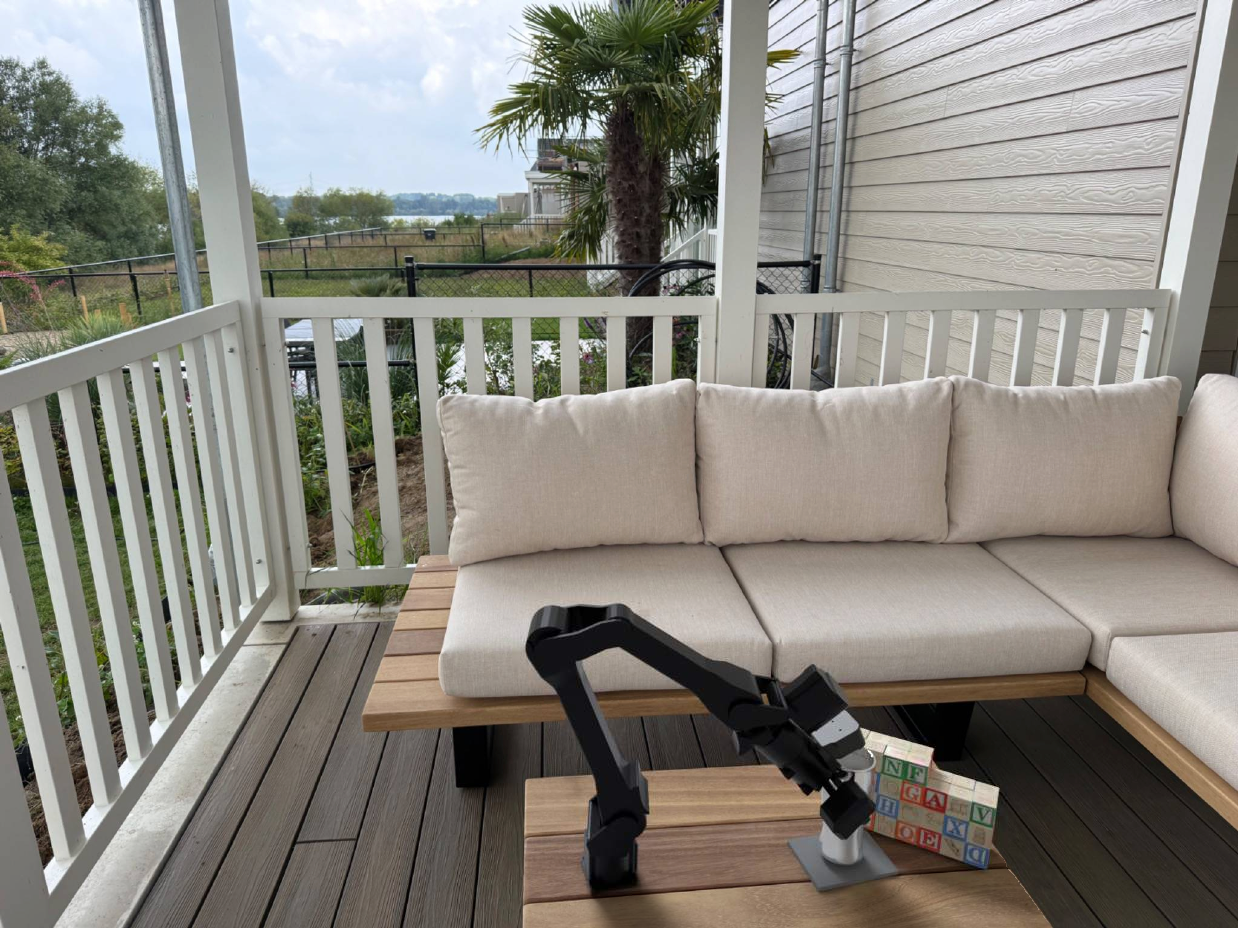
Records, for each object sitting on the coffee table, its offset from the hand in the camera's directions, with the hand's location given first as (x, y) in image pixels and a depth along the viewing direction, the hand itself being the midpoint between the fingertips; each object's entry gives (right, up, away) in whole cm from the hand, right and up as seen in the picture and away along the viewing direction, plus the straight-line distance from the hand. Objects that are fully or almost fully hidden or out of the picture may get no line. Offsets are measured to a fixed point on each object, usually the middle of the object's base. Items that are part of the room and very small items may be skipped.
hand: (854, 804), depth 110 cm
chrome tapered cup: (-1, -7, +2) cm, 7 cm away
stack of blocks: (+10, -7, +7) cm, 14 cm away
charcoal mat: (-1, -8, +2) cm, 9 cm away
